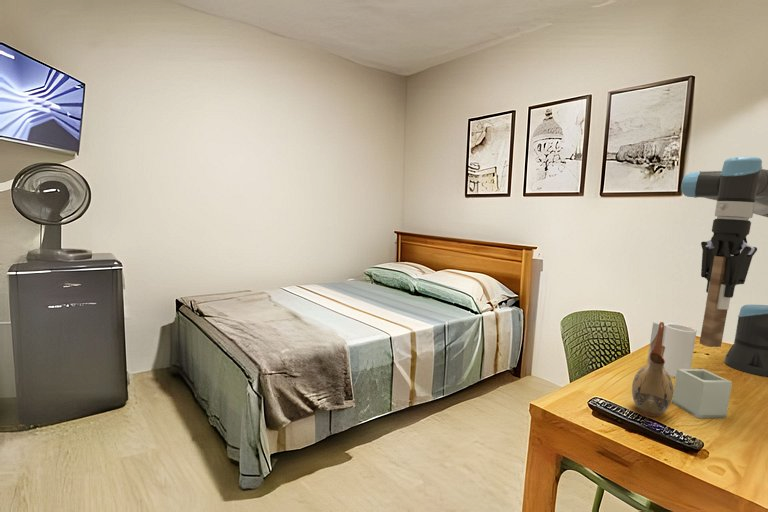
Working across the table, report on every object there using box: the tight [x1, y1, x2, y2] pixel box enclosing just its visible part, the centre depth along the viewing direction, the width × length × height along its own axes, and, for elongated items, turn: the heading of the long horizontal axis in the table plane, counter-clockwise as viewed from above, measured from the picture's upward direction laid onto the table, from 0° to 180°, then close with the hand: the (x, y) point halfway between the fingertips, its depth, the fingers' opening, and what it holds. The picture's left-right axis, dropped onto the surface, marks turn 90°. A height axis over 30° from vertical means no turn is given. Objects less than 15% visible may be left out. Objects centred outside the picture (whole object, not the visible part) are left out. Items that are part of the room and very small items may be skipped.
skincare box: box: [647, 320, 681, 362], centre depth 145 cm, size 8×6×15 cm
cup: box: [663, 323, 697, 378], centre depth 137 cm, size 8×8×16 cm
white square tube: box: [671, 368, 733, 419], centre depth 112 cm, size 8×8×10 cm
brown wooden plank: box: [699, 256, 729, 348], centre depth 109 cm, size 4×2×24 cm, turn 98°
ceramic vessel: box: [631, 321, 674, 418], centre depth 108 cm, size 16×9×25 cm, turn 146°
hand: (716, 307), depth 109 cm, fingers closed on brown wooden plank, 2 cm apart
